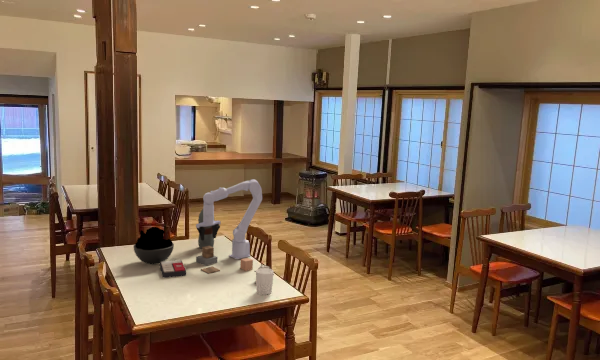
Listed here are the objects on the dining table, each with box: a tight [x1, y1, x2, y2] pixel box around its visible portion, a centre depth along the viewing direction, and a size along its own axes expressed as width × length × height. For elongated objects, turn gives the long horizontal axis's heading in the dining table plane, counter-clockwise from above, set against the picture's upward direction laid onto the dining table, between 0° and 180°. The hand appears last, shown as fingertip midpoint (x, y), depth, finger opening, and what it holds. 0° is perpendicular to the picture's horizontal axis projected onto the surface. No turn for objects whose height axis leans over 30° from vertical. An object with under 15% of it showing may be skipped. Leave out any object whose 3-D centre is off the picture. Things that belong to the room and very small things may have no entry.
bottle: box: [197, 208, 216, 250], centre depth 276 cm, size 9×9×30 cm
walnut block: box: [201, 246, 215, 258], centre depth 252 cm, size 4×4×5 cm
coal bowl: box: [133, 226, 175, 265], centre depth 246 cm, size 20×20×19 cm
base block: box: [195, 254, 219, 266], centre depth 252 cm, size 8×8×4 cm
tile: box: [200, 265, 221, 274], centre depth 240 cm, size 7×7×1 cm
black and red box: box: [159, 259, 187, 279], centre depth 235 cm, size 11×4×15 cm
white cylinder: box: [255, 268, 275, 296], centre depth 213 cm, size 8×8×10 cm
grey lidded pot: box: [254, 263, 275, 276], centre depth 228 cm, size 9×8×10 cm
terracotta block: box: [239, 257, 254, 272], centre depth 244 cm, size 4×4×5 cm
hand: (208, 238), depth 259 cm, fingers open, 7 cm apart
